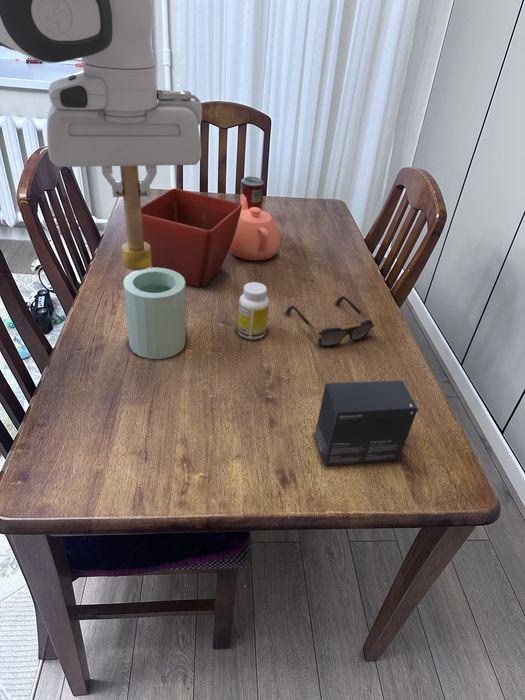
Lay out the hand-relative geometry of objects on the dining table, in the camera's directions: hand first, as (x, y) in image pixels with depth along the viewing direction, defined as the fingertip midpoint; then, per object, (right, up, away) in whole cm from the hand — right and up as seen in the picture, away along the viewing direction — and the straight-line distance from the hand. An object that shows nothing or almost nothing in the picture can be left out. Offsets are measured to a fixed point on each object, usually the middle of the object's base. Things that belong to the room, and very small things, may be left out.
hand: (131, 195), depth 71 cm
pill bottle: (+17, -19, +34) cm, 42 cm away
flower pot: (+1, -3, +53) cm, 53 cm away
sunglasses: (+34, -17, +39) cm, 54 cm away
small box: (+35, -39, +11) cm, 53 cm away
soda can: (+15, +19, +84) cm, 87 cm away
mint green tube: (-2, -21, +28) cm, 35 cm away
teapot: (+16, +5, +66) cm, 68 cm away
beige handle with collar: (-1, -9, +7) cm, 11 cm away
